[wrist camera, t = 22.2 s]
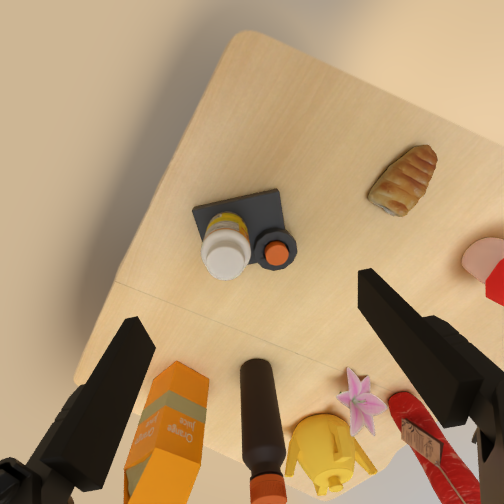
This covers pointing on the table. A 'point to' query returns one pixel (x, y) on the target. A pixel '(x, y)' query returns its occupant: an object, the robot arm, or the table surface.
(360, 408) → the lily
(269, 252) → the button
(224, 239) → the supplement bottle
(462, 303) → the table surface
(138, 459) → the orange juice
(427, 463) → the water bottle
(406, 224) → the table surface
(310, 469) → the teapot
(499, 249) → the mushroom
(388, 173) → the pastry
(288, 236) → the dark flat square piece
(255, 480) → the vinegar
